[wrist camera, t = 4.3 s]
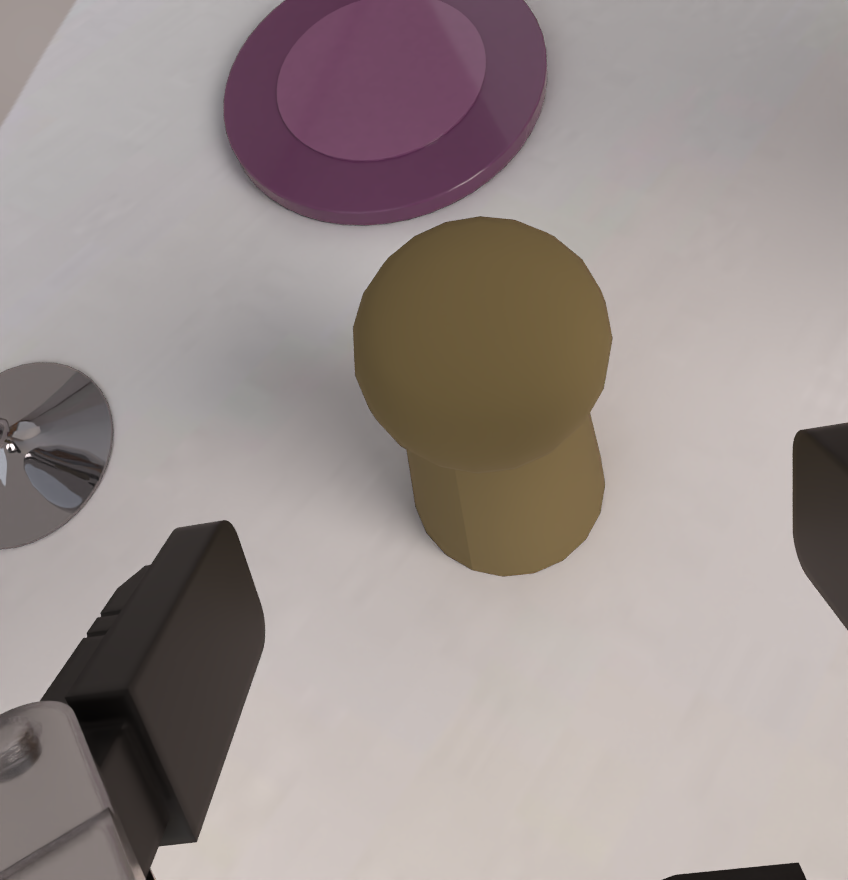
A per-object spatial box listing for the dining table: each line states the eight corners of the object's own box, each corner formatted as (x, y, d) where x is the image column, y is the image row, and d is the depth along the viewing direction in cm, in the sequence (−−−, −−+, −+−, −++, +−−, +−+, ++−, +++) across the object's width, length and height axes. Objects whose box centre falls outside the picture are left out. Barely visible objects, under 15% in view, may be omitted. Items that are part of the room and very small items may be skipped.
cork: (492, 361, 26) (450, 119, 15) (644, 464, 23) (712, 264, 13) (375, 497, 24) (246, 334, 14) (524, 618, 22) (497, 528, 12)
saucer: (459, -71, 33) (457, -91, 32) (609, 128, 28) (611, 110, 27) (191, 58, 33) (182, 41, 32) (293, 281, 28) (286, 268, 27)
